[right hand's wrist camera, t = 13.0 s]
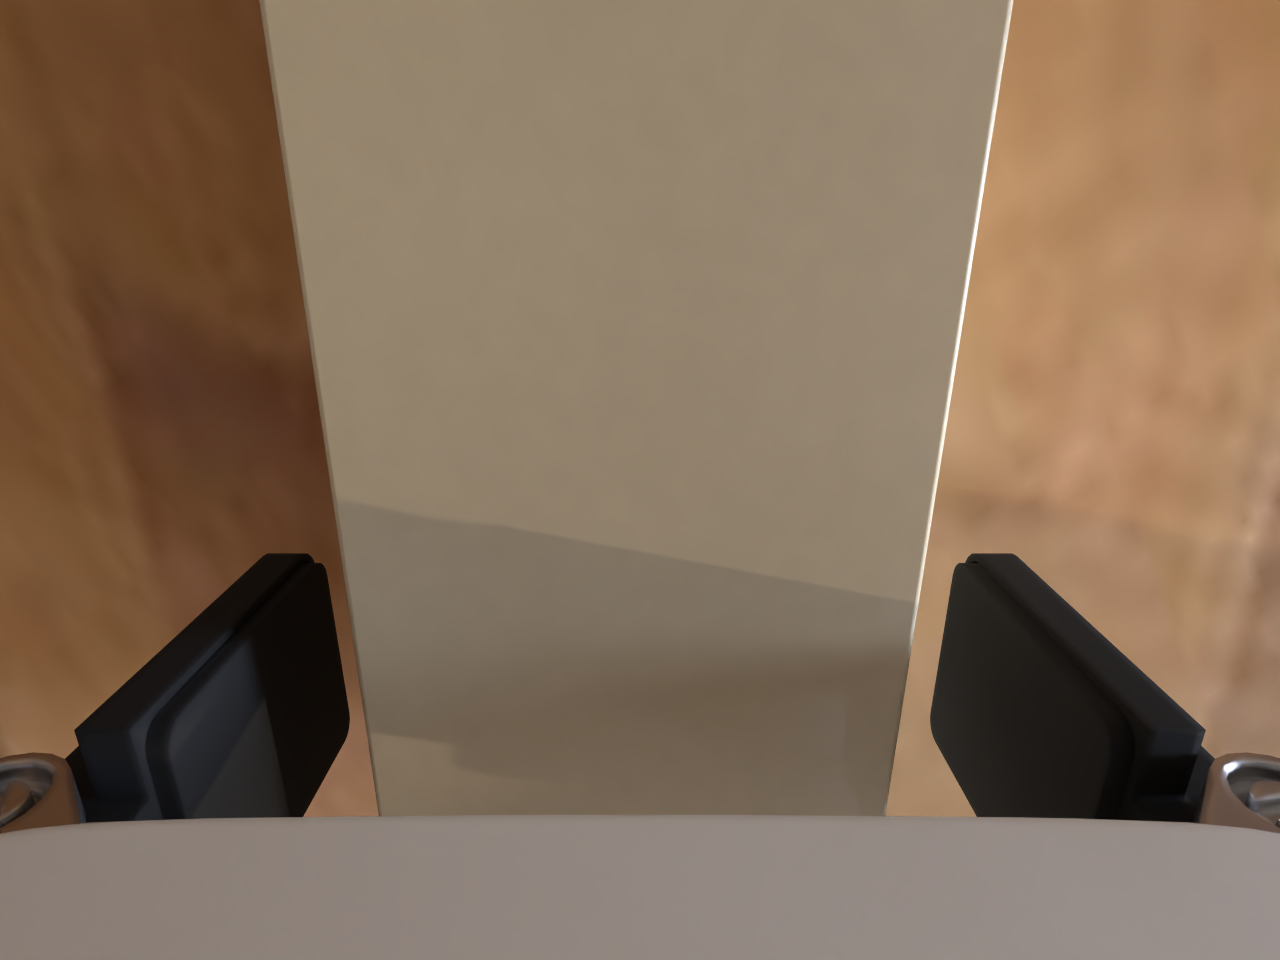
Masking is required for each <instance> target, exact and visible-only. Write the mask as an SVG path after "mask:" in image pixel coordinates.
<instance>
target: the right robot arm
mask: <svg viewBox="0 0 1280 960" xmlns="http://www.w3.org/2000/svg"><path fill="white" fill-rule="evenodd" d="M349 722H350V716H349V708H348V702H347V695H346V689H345V683H344V677H343V671H342V665H341V658H340V652H339V646H338V640H337V634H336V627H335V621H334V615H333V609H332V603H331V597H330V590H329V584H328V578H327V573H326V569H325V567H324V565H322V564H321V563H315V562H314V560H313V558H312V557H311V556H310V555H309V554H266V555H264V556H263V557H262V558H261V559H260V560H259V561H257V562H256V563H255V564H254V565H253V566H252V567H251V568H250V569H249V570H248V571H247V572H245V573H244V574H243V575H242V576H241V577H240V578H239V579H238V580H237V581H236V582H235V583H234V584H232V585H231V586H230V587H229V588H228V589H227V590H226V591H225V592H224V593H223V594H222V595H221V596H219V597H218V598H217V599H216V600H215V601H214V602H213V603H212V604H211V605H210V606H209V607H207V608H206V609H205V610H204V611H203V612H202V613H201V614H200V615H199V616H198V617H197V618H196V619H194V620H193V621H192V622H191V623H190V624H189V625H188V626H187V627H186V628H185V629H184V630H182V631H181V632H180V633H179V634H178V635H177V636H176V637H175V638H174V639H173V640H172V641H171V642H169V643H168V644H167V645H166V646H165V647H164V648H163V649H162V650H161V651H160V652H159V653H158V654H156V655H155V656H154V657H153V658H152V659H151V660H150V661H149V662H148V663H147V664H146V665H144V666H143V667H142V668H141V669H140V670H139V671H138V672H137V673H136V674H135V675H134V676H133V677H131V678H130V679H129V680H128V681H127V682H126V683H125V684H124V685H123V686H122V687H121V688H120V689H118V690H117V691H116V692H115V693H114V694H113V695H112V696H111V697H110V698H109V699H108V700H106V701H105V702H104V703H103V704H102V705H101V706H100V707H99V708H98V709H97V710H96V711H95V712H93V713H92V714H91V715H90V716H89V717H88V718H87V719H86V720H85V721H84V722H83V723H81V724H80V725H79V726H78V727H77V728H76V729H75V730H74V731H75V734H76V737H77V740H78V743H79V746H78V747H77V748H76V749H75V750H74V751H73V752H72V753H71V754H70V755H69V756H68V757H67V758H66V759H63V758H61V757H58V756H56V755H54V754H47V753H27V754H19V755H12V756H7V757H4V758H0V960H1280V758H1276V757H1273V756H1268V755H1261V754H1253V753H1233V754H1226V755H1224V756H1222V757H1219V758H1217V759H1214V758H1213V757H1212V756H1211V755H1210V754H1209V753H1208V752H1207V751H1206V750H1205V749H1204V748H1203V747H1202V746H1201V743H1202V740H1203V737H1204V734H1205V731H1206V730H1205V729H1204V728H1203V727H1202V726H1201V725H1200V724H1199V723H1197V722H1196V721H1195V720H1194V719H1193V718H1192V717H1191V716H1190V715H1189V714H1188V713H1187V712H1185V711H1184V710H1183V709H1182V708H1181V707H1180V706H1179V705H1178V704H1177V703H1176V702H1175V701H1174V700H1172V699H1171V698H1170V697H1169V696H1168V695H1167V694H1166V693H1165V692H1164V691H1163V690H1162V689H1160V688H1159V687H1158V686H1157V685H1156V684H1155V683H1154V682H1153V681H1152V680H1151V679H1150V678H1149V677H1147V676H1146V675H1145V674H1144V673H1143V672H1142V671H1141V670H1140V669H1139V668H1138V667H1137V666H1136V665H1134V664H1133V663H1132V662H1131V661H1130V660H1129V659H1128V658H1127V657H1126V656H1125V655H1124V654H1122V653H1121V652H1120V651H1119V650H1118V649H1117V648H1116V647H1115V646H1114V645H1113V644H1112V643H1111V642H1109V641H1108V640H1107V639H1106V638H1105V637H1104V636H1103V635H1102V634H1101V633H1100V632H1099V631H1098V630H1096V629H1095V628H1094V627H1093V626H1092V625H1091V624H1090V623H1089V622H1088V621H1087V620H1086V619H1084V618H1083V617H1082V616H1081V615H1080V614H1079V613H1078V612H1077V611H1076V610H1075V609H1074V608H1073V607H1071V606H1070V605H1069V604H1068V603H1067V602H1066V601H1065V600H1064V599H1063V598H1062V597H1061V596H1059V595H1058V594H1057V593H1056V592H1055V591H1054V590H1053V589H1052V588H1051V587H1050V586H1049V585H1048V584H1046V583H1045V582H1044V581H1043V580H1042V579H1041V578H1040V577H1039V576H1038V575H1037V574H1036V573H1035V572H1033V571H1032V570H1031V569H1030V568H1029V567H1028V566H1027V565H1026V564H1025V563H1024V562H1023V561H1021V560H1020V559H1019V558H1018V557H1017V556H1016V555H1014V554H971V555H970V556H969V557H968V558H967V560H966V562H965V563H959V564H958V565H956V567H955V569H954V573H953V578H952V584H951V590H950V597H949V603H948V609H947V615H946V621H945V627H944V634H943V640H942V646H941V652H940V658H939V665H938V671H937V677H936V683H935V689H934V695H933V702H932V708H931V716H930V722H931V730H932V734H933V737H934V740H935V742H936V744H937V745H938V747H939V749H940V751H941V753H942V754H943V756H944V758H945V760H946V762H947V763H948V765H949V767H950V769H951V771H952V772H953V774H954V776H955V778H956V780H957V781H958V783H959V785H960V787H961V789H962V790H963V792H964V794H965V796H966V798H967V799H968V801H969V803H970V805H971V807H972V808H973V810H974V812H975V814H976V816H977V817H919V816H809V815H449V816H362V817H303V816H304V814H305V812H306V810H307V808H308V807H309V805H310V803H311V801H312V799H313V798H314V796H315V794H316V792H317V790H318V789H319V787H320V785H321V783H322V781H323V780H324V778H325V776H326V774H327V772H328V771H329V769H330V767H331V765H332V763H333V762H334V760H335V758H336V756H337V754H338V753H339V751H340V749H341V747H342V745H343V744H344V742H345V740H346V737H347V734H348V730H349Z"/></svg>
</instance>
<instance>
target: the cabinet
mask: <svg viewBox="0 0 1280 960" xmlns="http://www.w3.org/2000/svg"><path fill="white" fill-rule="evenodd" d="M259 3H260V9H261V16H262V23H263V30H264V37H265V43H266V50H267V57H268V64H269V71H270V77H271V84H272V91H273V98H274V105H275V111H276V118H277V125H278V132H279V139H280V145H281V152H282V159H283V166H284V173H285V179H286V186H287V193H288V200H289V207H290V213H291V220H292V227H293V234H294V241H295V247H296V254H297V261H298V268H299V275H300V281H301V288H302V295H303V302H304V309H305V315H306V322H307V329H308V336H309V343H310V349H311V356H312V363H313V370H314V377H315V383H316V390H317V397H318V404H319V411H320V418H321V424H322V431H323V438H324V445H325V452H326V458H327V465H328V472H329V479H330V486H331V492H332V499H333V506H334V513H335V520H336V526H337V533H338V540H339V547H340V554H341V560H342V567H343V574H344V581H345V588H346V594H347V601H348V608H349V615H350V622H351V628H352V635H353V642H354V649H355V656H356V662H357V669H358V676H359V683H360V690H361V696H362V703H363V710H364V717H365V724H366V730H367V737H368V744H369V751H370V758H371V764H372V771H373V778H374V785H375V792H376V798H377V805H378V812H379V816H449V815H809V816H885V812H886V806H887V800H888V793H889V787H890V781H891V774H892V768H893V762H894V755H895V749H896V743H897V736H898V730H899V723H900V717H901V711H902V704H903V698H904V692H905V685H906V679H907V673H908V666H909V660H910V654H911V647H912V641H913V635H914V628H915V622H916V616H917V609H918V603H919V596H920V590H921V584H922V577H923V571H924V565H925V558H926V552H927V546H928V539H929V533H930V527H931V520H932V514H933V508H934V501H935V495H936V489H937V482H938V476H939V470H940V463H941V457H942V450H943V444H944V438H945V431H946V425H947V419H948V412H949V406H950V400H951V393H952V387H953V381H954V374H955V368H956V362H957V355H958V349H959V343H960V336H961V330H962V323H963V317H964V311H965V304H966V298H967V292H968V285H969V279H970V273H971V266H972V260H973V254H974V247H975V241H976V235H977V228H978V222H979V216H980V209H981V203H982V196H983V190H984V184H985V177H986V171H987V165H988V158H989V152H990V146H991V139H992V133H993V127H994V120H995V114H996V108H997V101H998V95H999V89H1000V82H1001V76H1002V69H1003V63H1004V57H1005V50H1006V44H1007V38H1008V31H1009V25H1010V19H1011V12H1012V6H1013V0H259Z"/></svg>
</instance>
